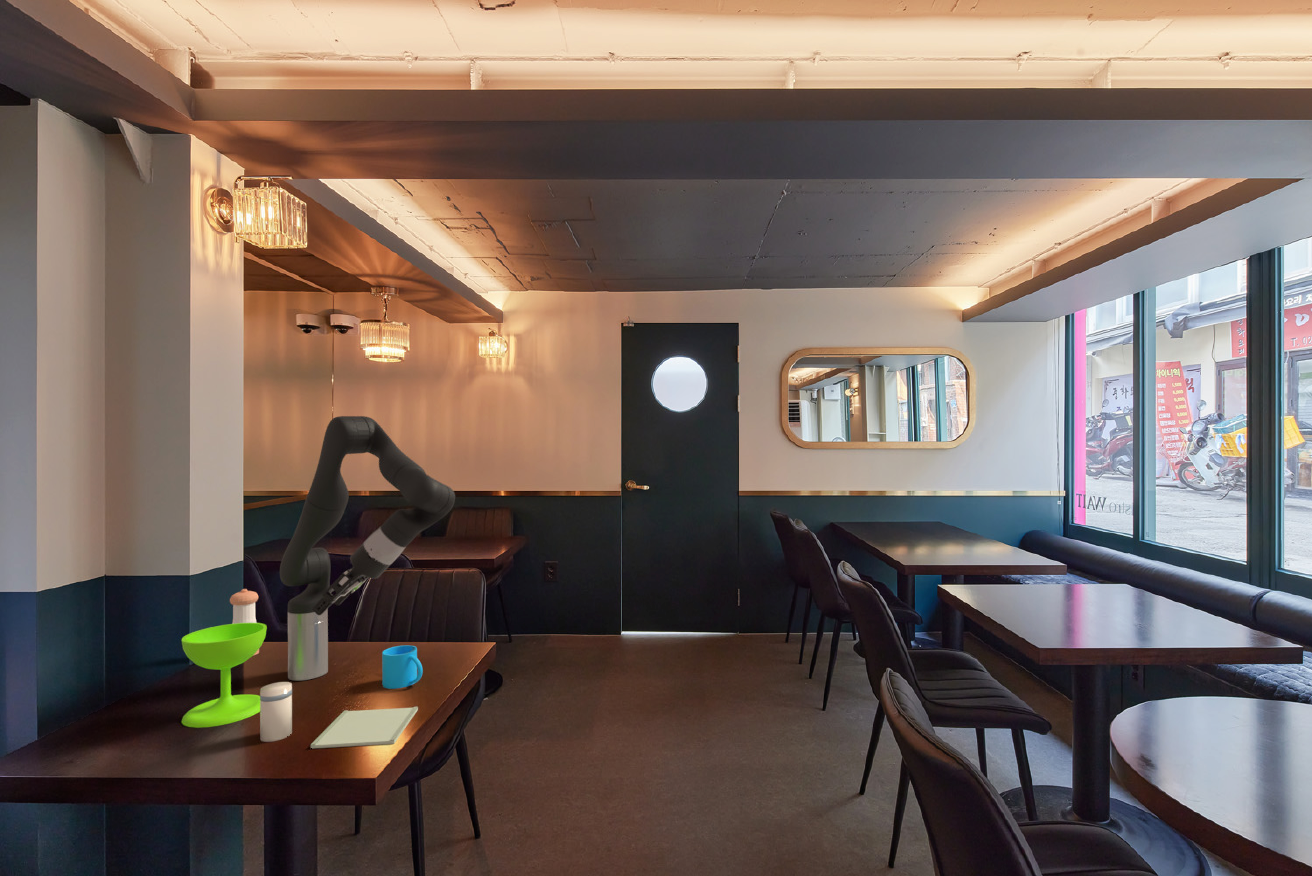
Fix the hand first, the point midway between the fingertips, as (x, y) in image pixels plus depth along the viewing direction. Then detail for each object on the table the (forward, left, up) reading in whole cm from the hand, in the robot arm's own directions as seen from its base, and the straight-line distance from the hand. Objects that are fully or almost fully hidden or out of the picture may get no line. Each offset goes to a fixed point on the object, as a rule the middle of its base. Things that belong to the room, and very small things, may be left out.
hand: (325, 607), depth 132 cm
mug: (-22, +10, -26) cm, 35 cm away
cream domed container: (+4, -8, -25) cm, 27 cm away
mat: (+3, +10, -25) cm, 27 cm away
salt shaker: (-52, -45, -25) cm, 74 cm away
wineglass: (-10, -26, -25) cm, 38 cm away
